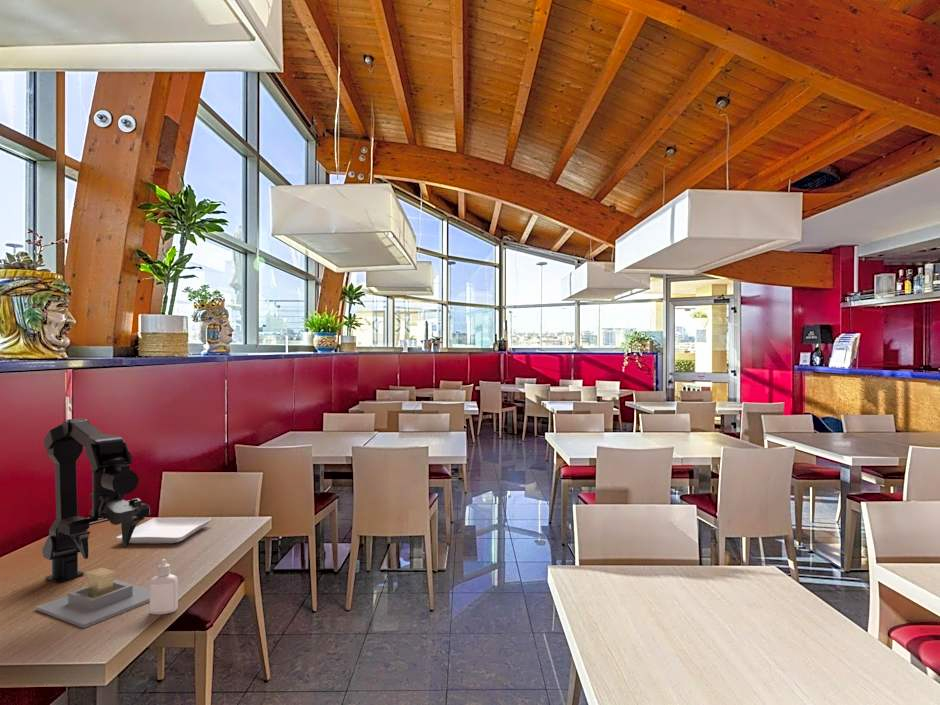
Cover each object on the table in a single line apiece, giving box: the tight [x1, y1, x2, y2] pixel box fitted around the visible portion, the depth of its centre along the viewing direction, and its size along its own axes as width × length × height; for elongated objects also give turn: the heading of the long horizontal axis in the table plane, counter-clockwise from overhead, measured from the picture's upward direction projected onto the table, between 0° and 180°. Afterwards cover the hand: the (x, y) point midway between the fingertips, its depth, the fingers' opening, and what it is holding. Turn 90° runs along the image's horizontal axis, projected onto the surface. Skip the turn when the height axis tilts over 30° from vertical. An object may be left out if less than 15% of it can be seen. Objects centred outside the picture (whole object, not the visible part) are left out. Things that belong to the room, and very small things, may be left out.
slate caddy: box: [35, 578, 150, 629], centre depth 133 cm, size 20×18×3 cm
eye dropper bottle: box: [149, 558, 179, 615], centre depth 128 cm, size 4×6×12 cm
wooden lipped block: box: [85, 566, 117, 598], centre depth 133 cm, size 6×4×7 cm, turn 63°
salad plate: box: [116, 517, 212, 544], centre depth 184 cm, size 21×21×3 cm
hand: (106, 552), depth 135 cm, fingers open, 9 cm apart
